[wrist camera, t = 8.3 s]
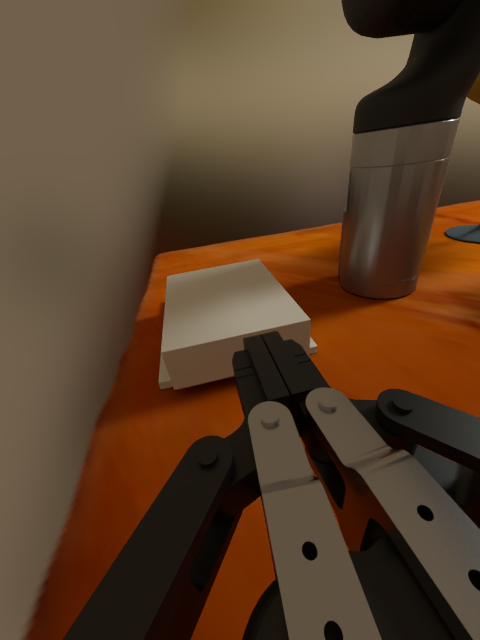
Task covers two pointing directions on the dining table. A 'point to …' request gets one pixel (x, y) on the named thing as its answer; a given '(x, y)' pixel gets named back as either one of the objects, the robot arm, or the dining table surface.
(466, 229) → the cocktail glass
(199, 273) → the tile
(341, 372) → the dining table surface
